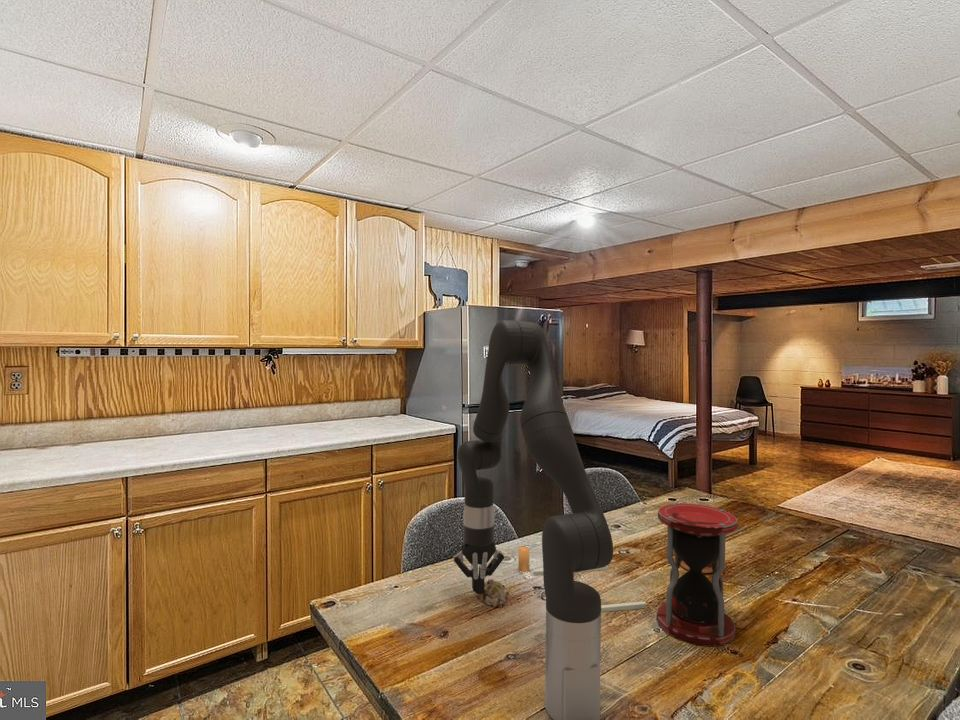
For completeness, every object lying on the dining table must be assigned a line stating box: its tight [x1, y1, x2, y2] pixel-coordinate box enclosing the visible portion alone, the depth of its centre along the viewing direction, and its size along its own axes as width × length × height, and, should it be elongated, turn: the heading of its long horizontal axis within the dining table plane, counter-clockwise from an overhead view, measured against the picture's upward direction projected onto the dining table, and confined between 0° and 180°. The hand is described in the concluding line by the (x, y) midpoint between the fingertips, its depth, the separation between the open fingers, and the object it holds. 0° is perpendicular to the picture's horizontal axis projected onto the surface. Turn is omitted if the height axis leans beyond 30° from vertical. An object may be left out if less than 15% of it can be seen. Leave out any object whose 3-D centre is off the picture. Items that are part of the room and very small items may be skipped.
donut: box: [680, 559, 713, 574], centre depth 144 cm, size 10×10×4 cm
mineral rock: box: [475, 578, 510, 608], centre depth 126 cm, size 11×4×8 cm
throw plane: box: [517, 546, 647, 614], centre depth 130 cm, size 30×24×6 cm
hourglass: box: [655, 502, 738, 647], centre depth 113 cm, size 16×16×25 cm
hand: (478, 592), depth 125 cm, fingers closed
